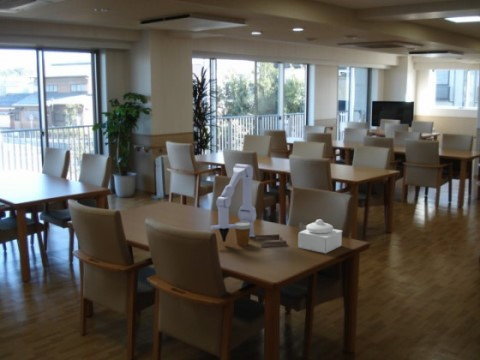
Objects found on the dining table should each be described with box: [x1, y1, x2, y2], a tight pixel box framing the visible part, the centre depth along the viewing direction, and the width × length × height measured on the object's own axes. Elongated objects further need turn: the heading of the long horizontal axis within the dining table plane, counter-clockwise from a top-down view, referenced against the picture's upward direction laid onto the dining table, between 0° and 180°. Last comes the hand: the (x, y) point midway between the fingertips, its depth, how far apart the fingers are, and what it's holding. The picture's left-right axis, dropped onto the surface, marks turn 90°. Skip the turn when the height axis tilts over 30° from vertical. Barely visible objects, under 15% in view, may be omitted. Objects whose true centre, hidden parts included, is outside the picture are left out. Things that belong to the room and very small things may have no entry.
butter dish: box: [297, 218, 343, 254], centre depth 304 cm, size 18×18×16 cm
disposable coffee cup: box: [234, 221, 251, 247], centre depth 310 cm, size 10×10×12 cm
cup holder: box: [255, 233, 287, 248], centre depth 314 cm, size 15×14×2 cm
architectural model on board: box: [298, 221, 315, 233], centre depth 324 cm, size 11×3×10 cm, turn 40°
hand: (223, 241), depth 309 cm, fingers closed
